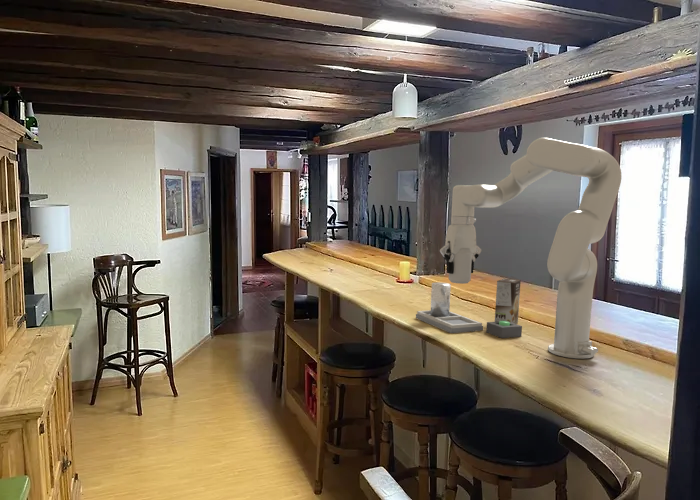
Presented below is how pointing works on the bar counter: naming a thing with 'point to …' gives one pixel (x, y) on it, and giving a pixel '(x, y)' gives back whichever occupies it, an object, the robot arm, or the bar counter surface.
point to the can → (461, 267)
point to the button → (504, 323)
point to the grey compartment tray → (450, 322)
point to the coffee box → (507, 300)
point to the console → (504, 330)
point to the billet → (440, 299)
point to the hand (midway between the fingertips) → (459, 272)
